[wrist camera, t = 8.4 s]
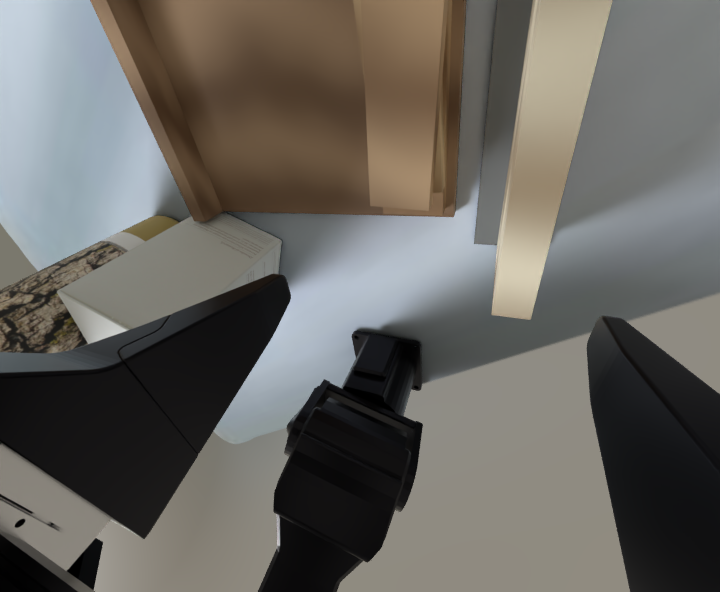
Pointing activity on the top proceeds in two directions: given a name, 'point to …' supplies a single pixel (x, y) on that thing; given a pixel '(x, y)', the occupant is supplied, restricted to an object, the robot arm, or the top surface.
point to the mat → (501, 113)
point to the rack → (261, 100)
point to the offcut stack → (406, 101)
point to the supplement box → (170, 274)
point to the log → (44, 306)
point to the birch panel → (544, 142)
